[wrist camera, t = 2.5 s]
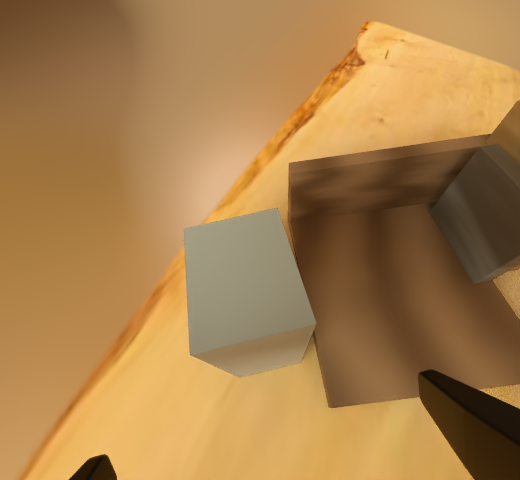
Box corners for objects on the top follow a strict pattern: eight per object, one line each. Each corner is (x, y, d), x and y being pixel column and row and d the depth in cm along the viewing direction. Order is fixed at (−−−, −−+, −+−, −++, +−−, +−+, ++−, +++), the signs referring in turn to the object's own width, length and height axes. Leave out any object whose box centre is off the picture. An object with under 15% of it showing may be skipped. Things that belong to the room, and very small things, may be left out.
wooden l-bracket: (459, 194, 25) (551, 86, 16) (596, 373, 16) (957, 343, 7) (287, 218, 25) (288, 124, 16) (329, 407, 16) (377, 417, 8)
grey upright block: (281, 290, 21) (277, 205, 12) (301, 362, 18) (317, 322, 9) (228, 303, 21) (182, 226, 11) (239, 377, 18) (188, 355, 8)
